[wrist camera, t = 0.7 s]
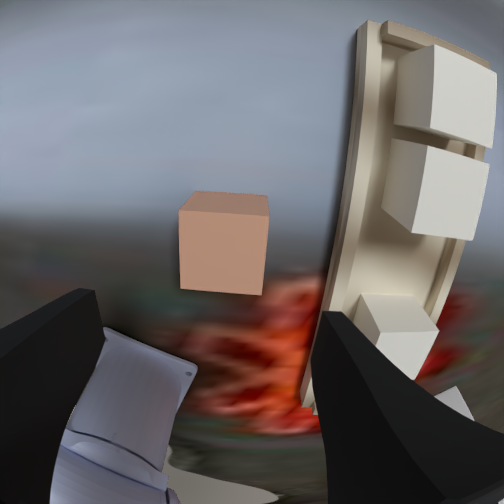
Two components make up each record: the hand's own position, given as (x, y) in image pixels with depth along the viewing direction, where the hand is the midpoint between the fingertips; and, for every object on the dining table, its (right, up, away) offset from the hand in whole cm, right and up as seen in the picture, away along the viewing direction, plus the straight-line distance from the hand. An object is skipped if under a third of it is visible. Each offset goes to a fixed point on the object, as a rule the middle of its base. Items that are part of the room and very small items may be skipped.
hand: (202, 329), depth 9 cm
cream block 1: (+11, +11, +4) cm, 16 cm away
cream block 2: (+11, +7, +6) cm, 14 cm away
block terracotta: (0, +4, +9) cm, 10 cm away
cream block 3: (+10, -2, +10) cm, 14 cm away
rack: (+11, +2, +9) cm, 14 cm away
